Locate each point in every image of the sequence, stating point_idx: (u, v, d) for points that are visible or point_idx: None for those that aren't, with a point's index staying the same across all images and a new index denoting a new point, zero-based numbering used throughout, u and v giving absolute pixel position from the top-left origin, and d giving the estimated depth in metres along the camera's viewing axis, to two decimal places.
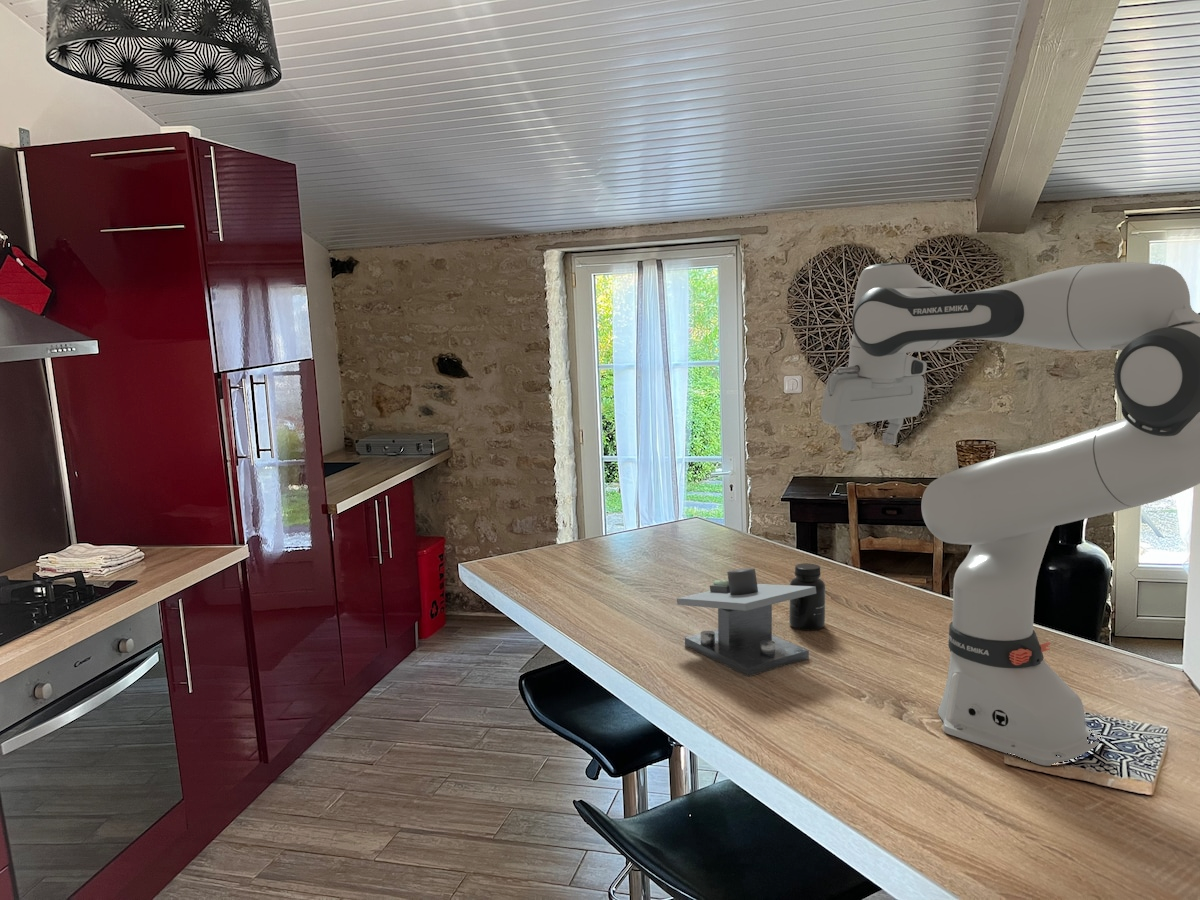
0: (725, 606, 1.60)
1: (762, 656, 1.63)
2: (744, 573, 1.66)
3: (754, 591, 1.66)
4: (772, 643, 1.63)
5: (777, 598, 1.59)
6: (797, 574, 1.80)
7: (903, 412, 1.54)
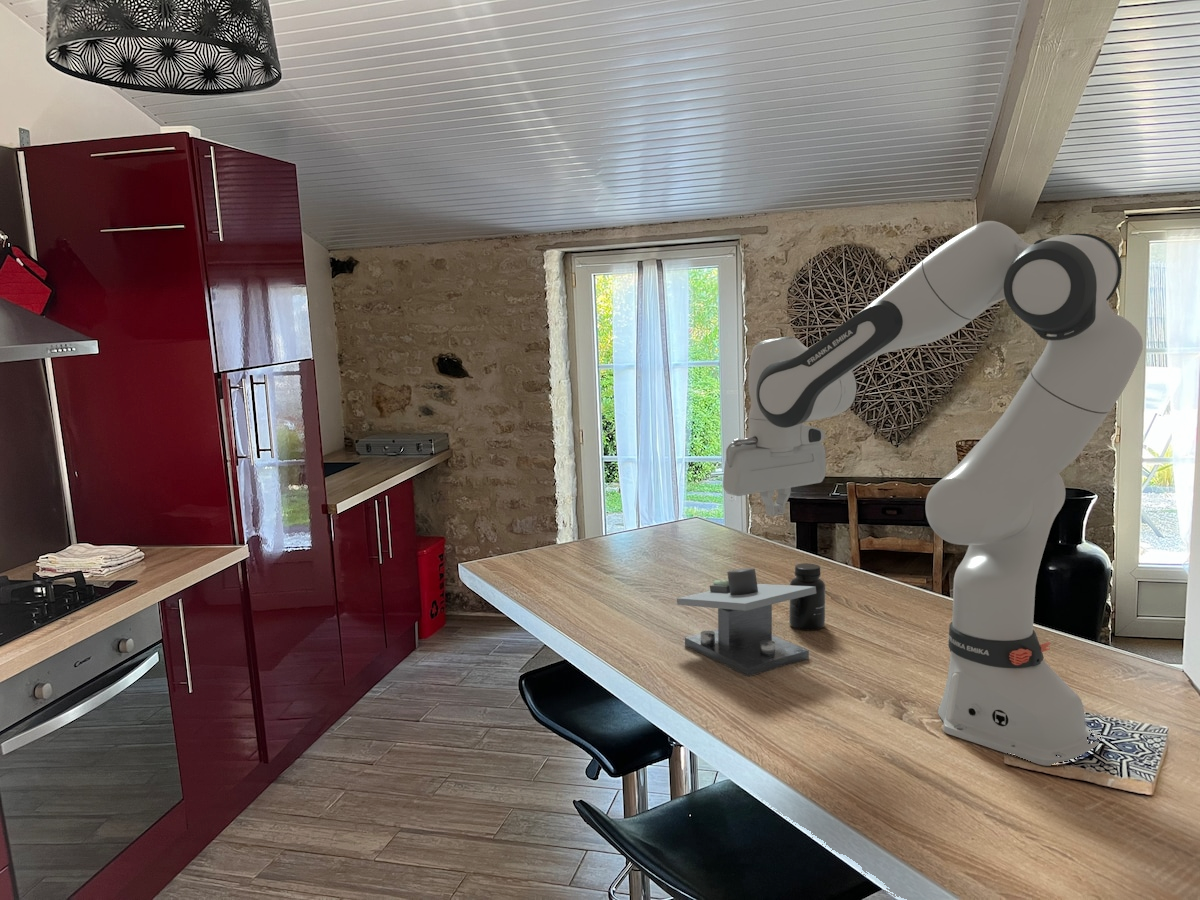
0: (725, 606, 1.60)
1: (762, 656, 1.63)
2: (744, 573, 1.66)
3: (754, 591, 1.66)
4: (772, 643, 1.63)
5: (777, 598, 1.59)
6: (797, 574, 1.80)
7: (806, 479, 1.59)
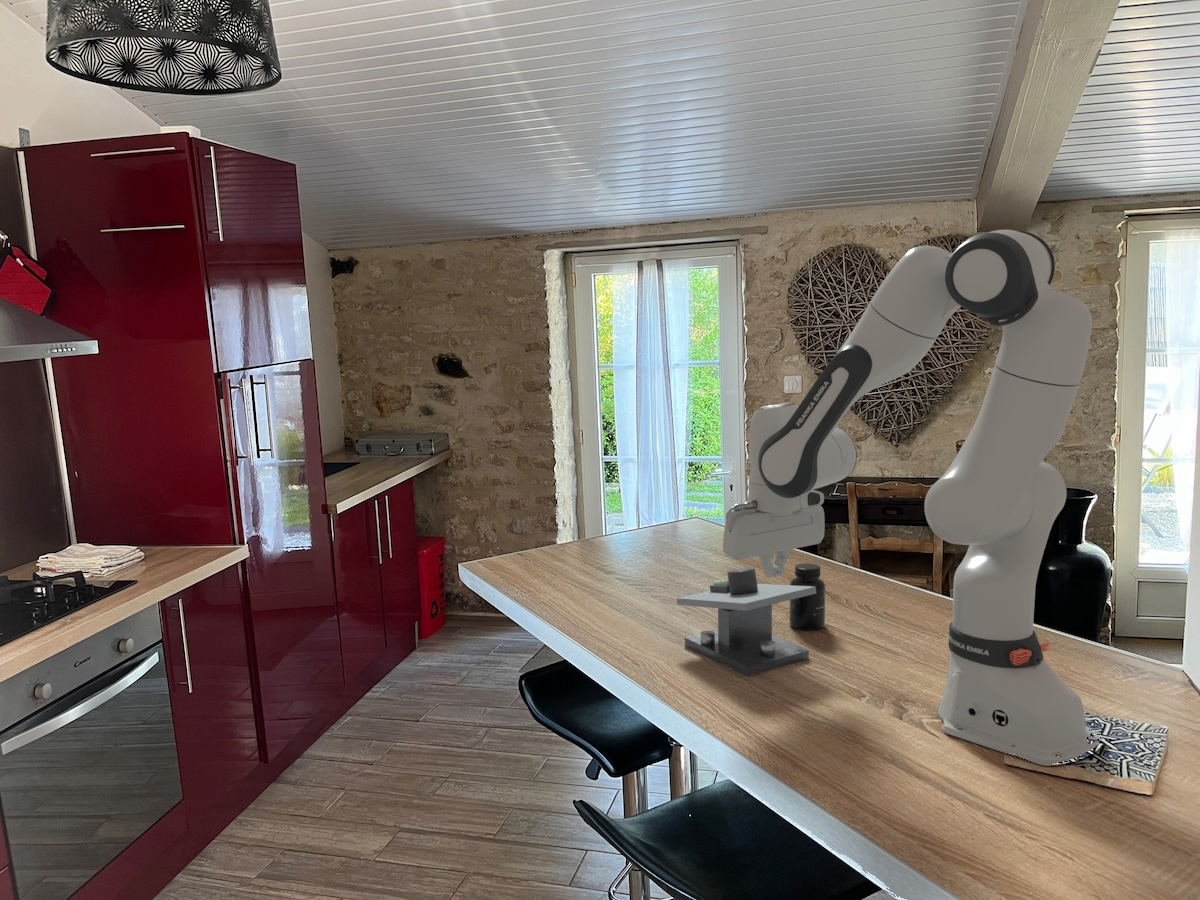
0: (725, 606, 1.60)
1: (762, 656, 1.63)
2: (744, 573, 1.66)
3: (754, 591, 1.66)
4: (772, 643, 1.63)
5: (777, 598, 1.59)
6: (797, 574, 1.80)
7: (805, 541, 1.61)
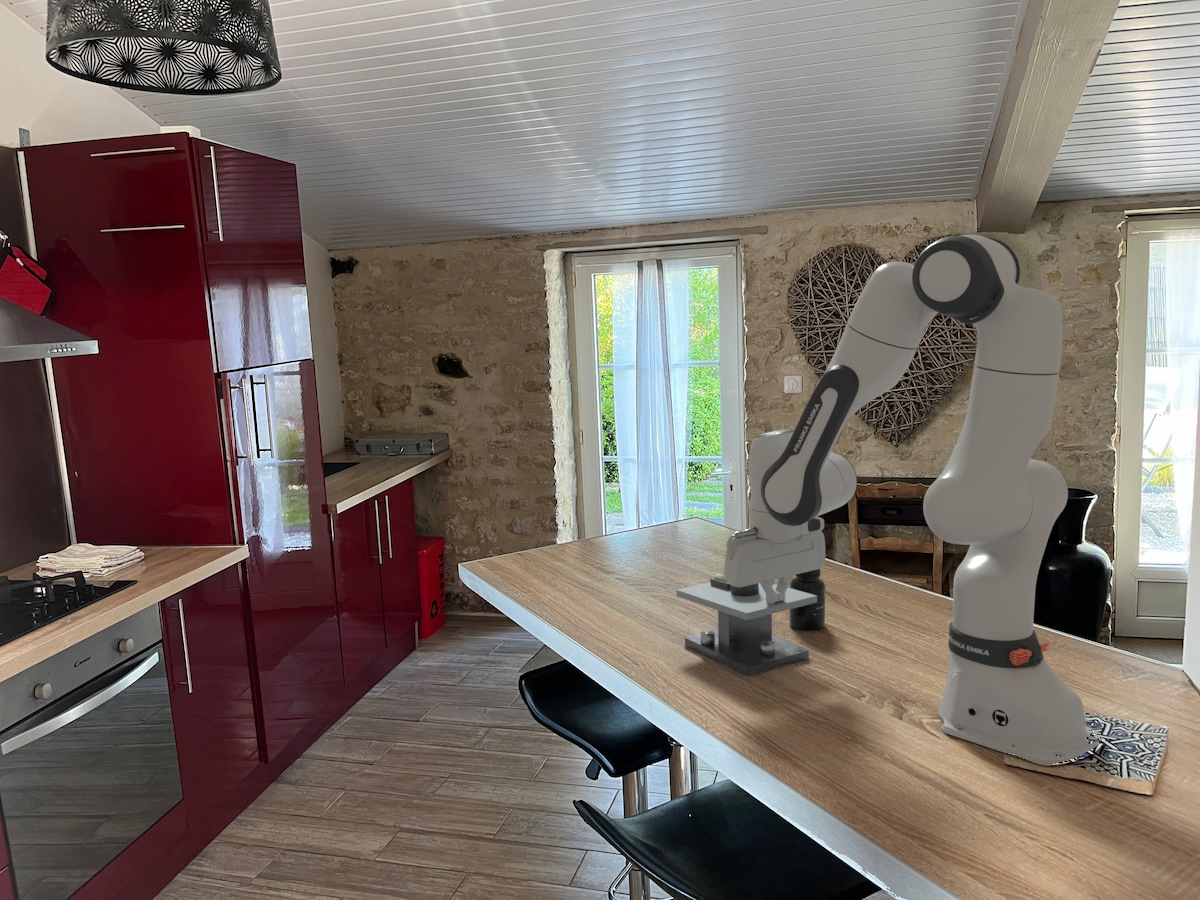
0: (726, 611, 1.60)
1: (762, 656, 1.63)
2: None
3: (755, 593, 1.66)
4: (772, 643, 1.63)
5: (778, 608, 1.59)
6: (797, 574, 1.80)
7: (806, 567, 1.61)
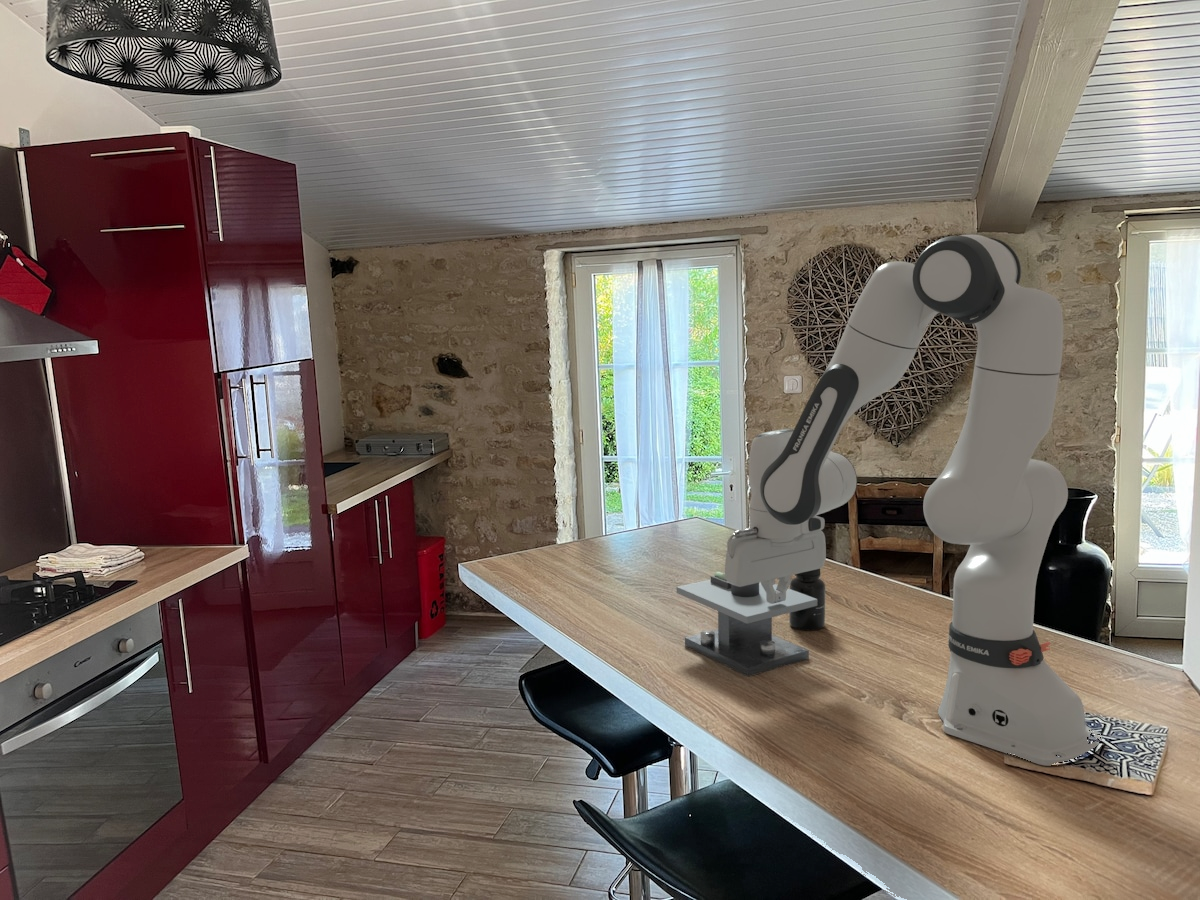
0: (726, 612, 1.60)
1: (762, 656, 1.63)
2: None
3: (755, 594, 1.66)
4: (772, 643, 1.63)
5: (778, 611, 1.59)
6: (797, 574, 1.80)
7: (806, 566, 1.61)
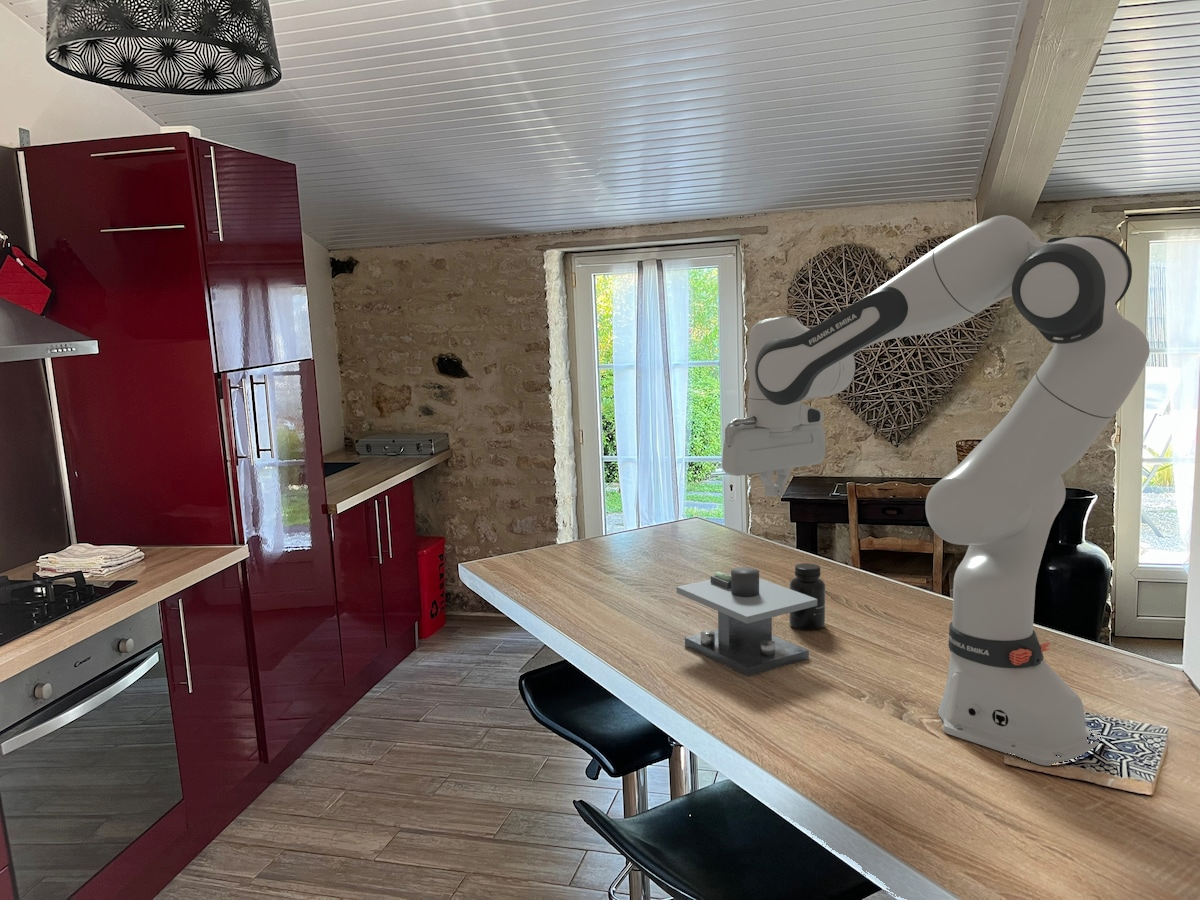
0: (726, 612, 1.60)
1: (762, 656, 1.63)
2: (748, 577, 1.65)
3: (755, 594, 1.66)
4: (772, 643, 1.63)
5: (778, 611, 1.59)
6: (797, 574, 1.80)
7: (806, 460, 1.59)
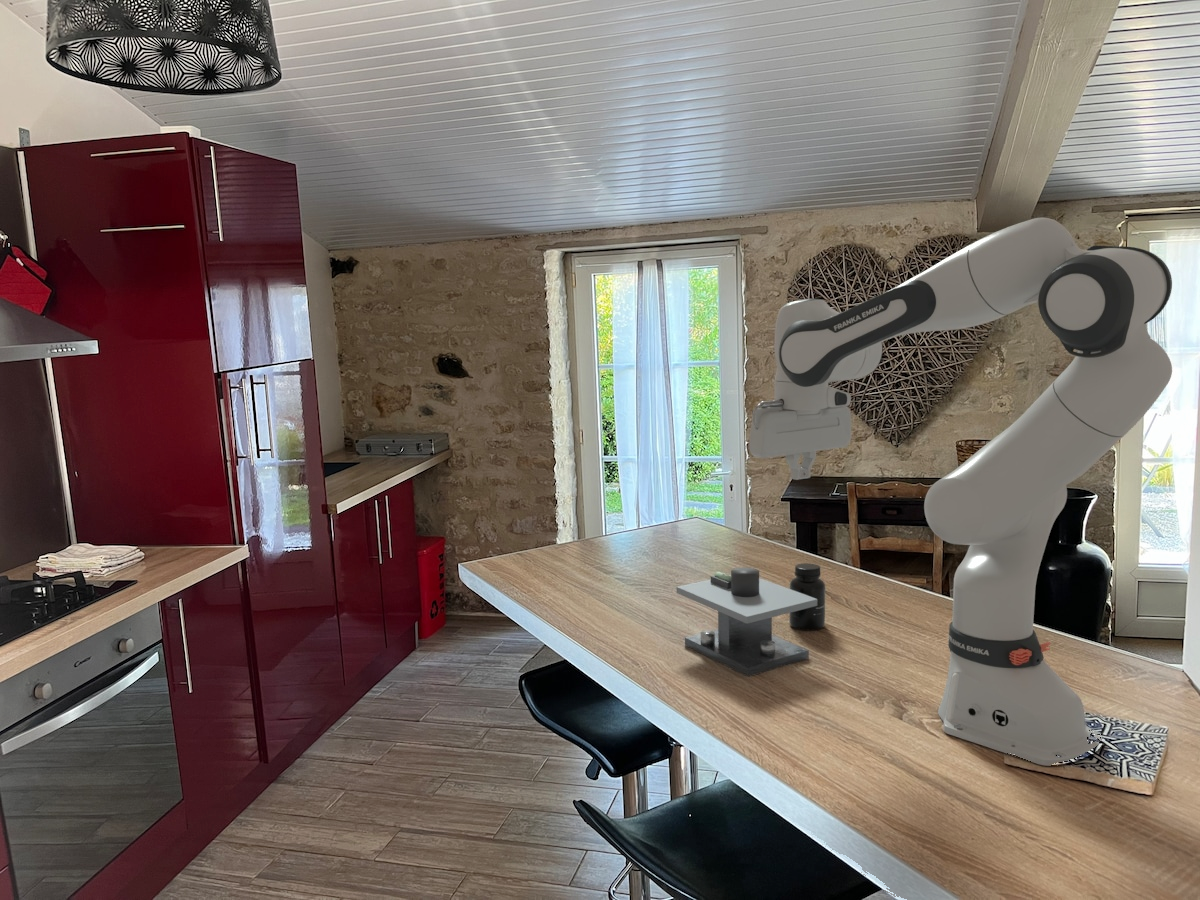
0: (726, 612, 1.60)
1: (762, 656, 1.63)
2: (748, 577, 1.65)
3: (755, 594, 1.66)
4: (772, 643, 1.63)
5: (778, 611, 1.59)
6: (797, 574, 1.80)
7: (832, 443, 1.58)
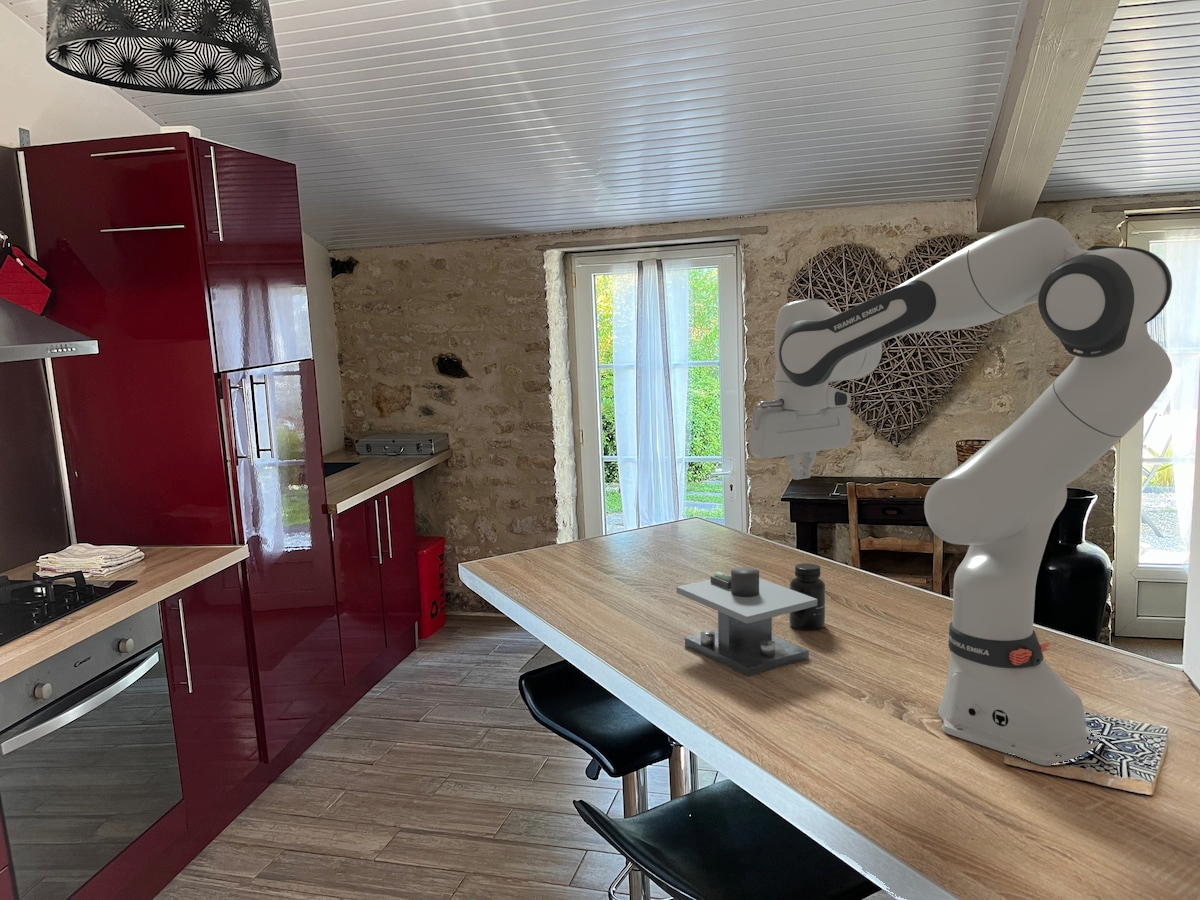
0: (726, 612, 1.60)
1: (762, 656, 1.63)
2: (748, 577, 1.65)
3: (755, 594, 1.66)
4: (772, 643, 1.63)
5: (778, 611, 1.59)
6: (797, 574, 1.80)
7: (832, 443, 1.58)
